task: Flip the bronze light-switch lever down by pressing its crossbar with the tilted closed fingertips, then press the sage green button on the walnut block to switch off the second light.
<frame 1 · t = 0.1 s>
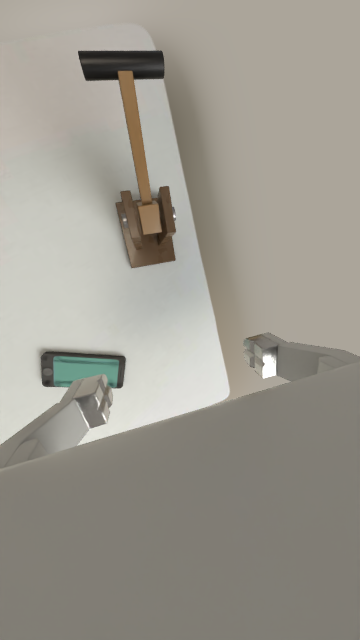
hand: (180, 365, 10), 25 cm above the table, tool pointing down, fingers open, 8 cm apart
switch bracket: (147, 235, 30), on the table
switch lever: (140, 163, 16), point 13 cm above the table, hinge at 25.0°
smartphone: (86, 369, 35), on the table
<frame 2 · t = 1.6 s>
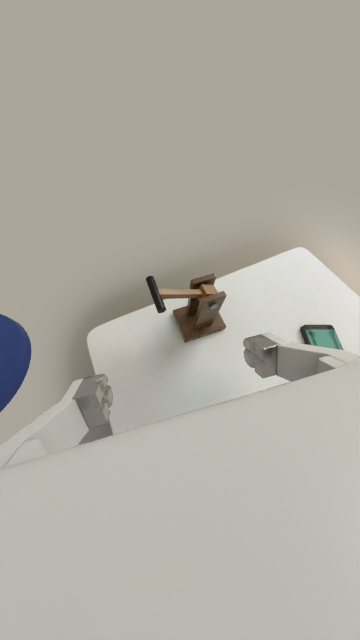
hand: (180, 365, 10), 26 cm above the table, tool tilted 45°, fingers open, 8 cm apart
switch bracket: (198, 320, 40), on the table
switch lever: (185, 293, 28), point 13 cm above the table, hinge at 25.0°
smartphone: (325, 358, 37), on the table
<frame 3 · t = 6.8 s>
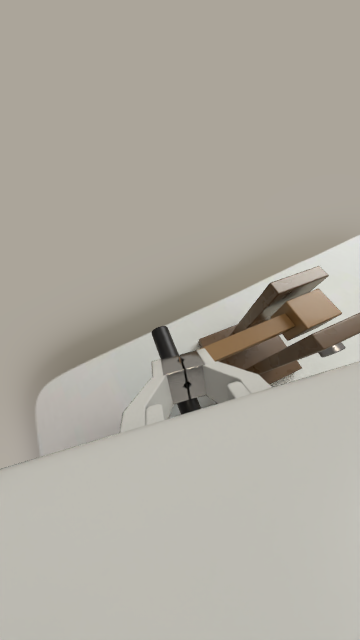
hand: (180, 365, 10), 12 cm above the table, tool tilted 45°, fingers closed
switch bracket: (245, 355, 22), on the table
switch lever: (247, 338, 12), point 11 cm above the table, hinge at -3.5°, touching gripper
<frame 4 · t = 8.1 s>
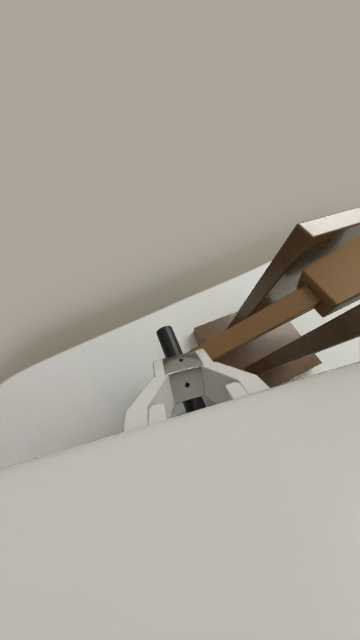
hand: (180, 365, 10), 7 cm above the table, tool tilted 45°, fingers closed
switch bracket: (250, 348, 18), on the table
switch lever: (254, 327, 10), point 9 cm above the table, hinge at -32.2°, touching gripper
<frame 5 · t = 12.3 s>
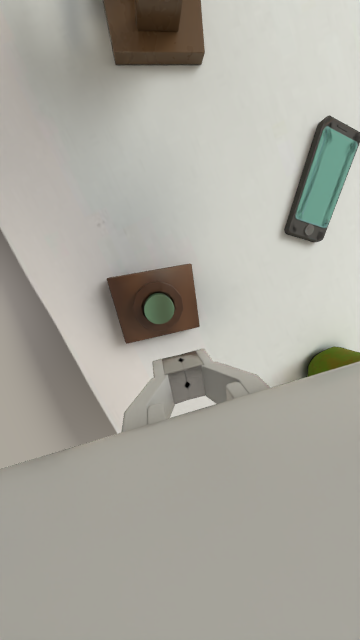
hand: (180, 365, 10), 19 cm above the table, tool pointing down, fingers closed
switch bracket: (152, 11, 18), on the table
apple: (319, 364, 39), on the table
smartphone: (316, 188, 27), on the table
light button: (159, 308, 23), point 4 cm above the table, slide at 0.1 cm
button block: (156, 302, 27), on the table
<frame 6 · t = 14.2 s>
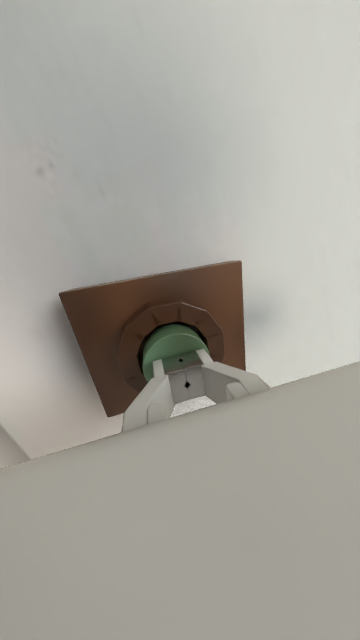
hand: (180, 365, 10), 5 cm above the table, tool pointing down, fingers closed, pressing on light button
light button: (175, 358, 11), point 4 cm above the table, slide at -0.1 cm, touching gripper
button block: (166, 333, 15), on the table
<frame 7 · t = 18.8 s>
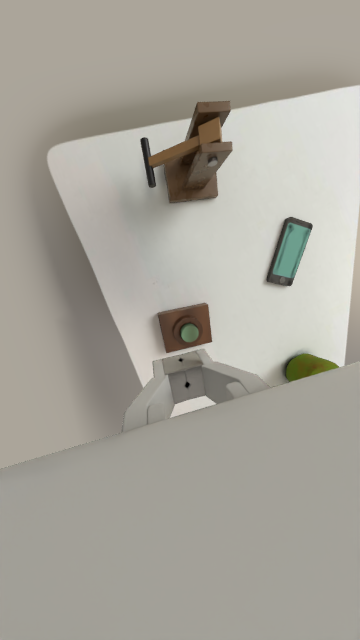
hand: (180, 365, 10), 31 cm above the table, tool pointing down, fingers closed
switch bracket: (190, 177, 34), on the table
switch lever: (179, 150, 25), point 9 cm above the table, hinge at -30.8°
apple: (295, 365, 55), on the table
smartphone: (286, 254, 43), on the table
light button: (189, 332, 39), point 4 cm above the table, slide at 0.1 cm
button block: (184, 326, 43), on the table
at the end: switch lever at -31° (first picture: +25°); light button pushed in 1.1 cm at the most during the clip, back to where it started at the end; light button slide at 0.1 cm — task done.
